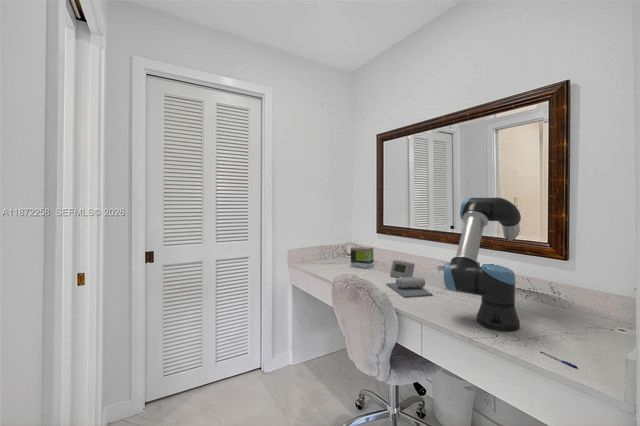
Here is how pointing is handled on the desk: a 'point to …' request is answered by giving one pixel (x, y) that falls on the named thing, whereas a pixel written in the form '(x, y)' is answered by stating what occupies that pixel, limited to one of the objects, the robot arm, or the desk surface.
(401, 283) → the energy drink can
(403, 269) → the digital clock
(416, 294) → the rubber mat
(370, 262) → the tea box
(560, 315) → the desk surface
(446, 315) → the desk surface
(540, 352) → the screwdriver
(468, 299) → the desk surface
